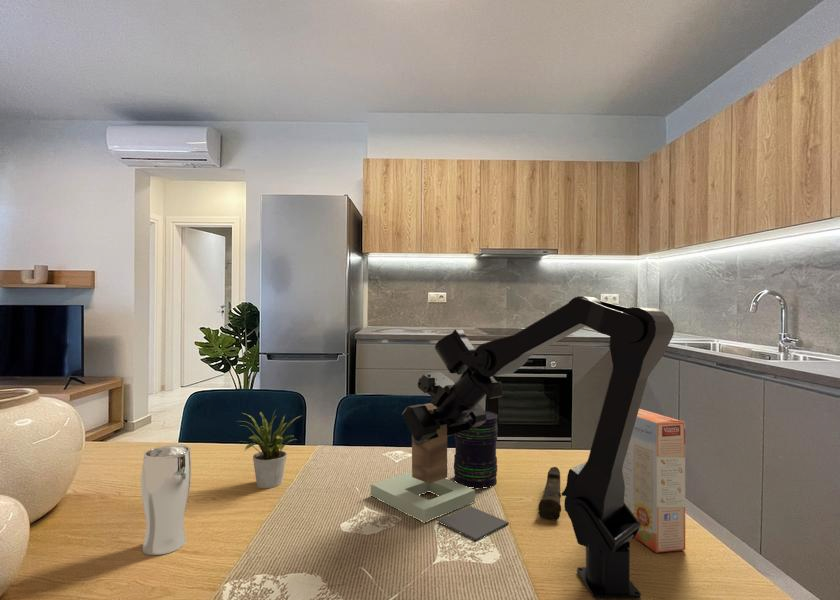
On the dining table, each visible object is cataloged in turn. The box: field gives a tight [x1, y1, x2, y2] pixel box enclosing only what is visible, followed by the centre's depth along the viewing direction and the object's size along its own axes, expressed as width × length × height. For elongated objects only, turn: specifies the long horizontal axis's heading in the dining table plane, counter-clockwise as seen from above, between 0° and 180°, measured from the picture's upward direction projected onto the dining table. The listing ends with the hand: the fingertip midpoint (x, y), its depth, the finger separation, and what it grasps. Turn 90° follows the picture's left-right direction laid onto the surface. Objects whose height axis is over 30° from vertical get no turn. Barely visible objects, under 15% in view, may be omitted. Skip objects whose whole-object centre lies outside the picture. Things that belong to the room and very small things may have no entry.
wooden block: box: [411, 402, 448, 484], centre depth 90 cm, size 5×5×14 cm
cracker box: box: [622, 408, 686, 554], centre depth 78 cm, size 14×6×21 cm, turn 12°
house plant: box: [235, 409, 303, 489], centre depth 98 cm, size 14×14×16 cm
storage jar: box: [453, 410, 499, 488], centre depth 102 cm, size 10×10×15 cm
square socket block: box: [370, 471, 476, 522], centre depth 91 cm, size 16×14×2 cm
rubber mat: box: [437, 505, 509, 542], centre depth 80 cm, size 9×9×1 cm
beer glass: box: [140, 444, 192, 556], centre depth 72 cm, size 7×7×15 cm
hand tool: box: [537, 466, 562, 521], centre depth 91 cm, size 19×4×5 cm, turn 158°
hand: (425, 440), depth 90 cm, fingers closed on wooden block, 5 cm apart
